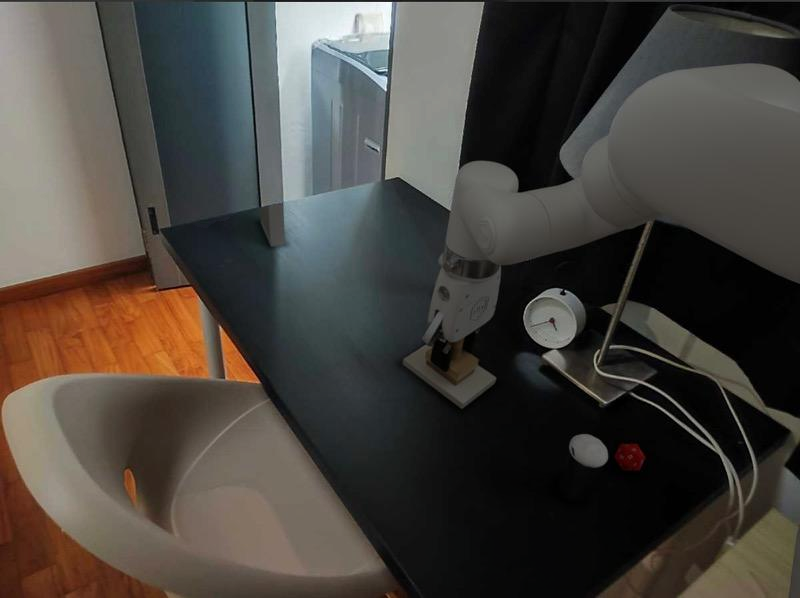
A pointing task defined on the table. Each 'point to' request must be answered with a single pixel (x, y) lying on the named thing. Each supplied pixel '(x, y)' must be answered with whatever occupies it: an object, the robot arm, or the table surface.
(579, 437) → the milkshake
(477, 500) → the table surface
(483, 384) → the tile
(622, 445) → the die
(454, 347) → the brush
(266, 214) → the gravestone
